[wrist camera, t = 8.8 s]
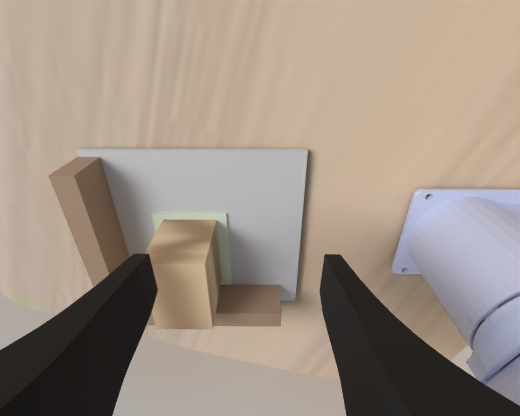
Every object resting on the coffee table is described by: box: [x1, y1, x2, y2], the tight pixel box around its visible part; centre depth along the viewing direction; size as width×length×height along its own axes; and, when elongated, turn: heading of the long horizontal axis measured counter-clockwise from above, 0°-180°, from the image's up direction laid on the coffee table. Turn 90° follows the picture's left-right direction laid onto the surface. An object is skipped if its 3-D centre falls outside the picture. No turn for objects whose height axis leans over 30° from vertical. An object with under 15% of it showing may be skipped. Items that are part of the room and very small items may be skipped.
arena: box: [49, 148, 308, 326], centre depth 22 cm, size 16×14×4 cm
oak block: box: [145, 219, 222, 329], centre depth 21 cm, size 4×6×5 cm, turn 0°
